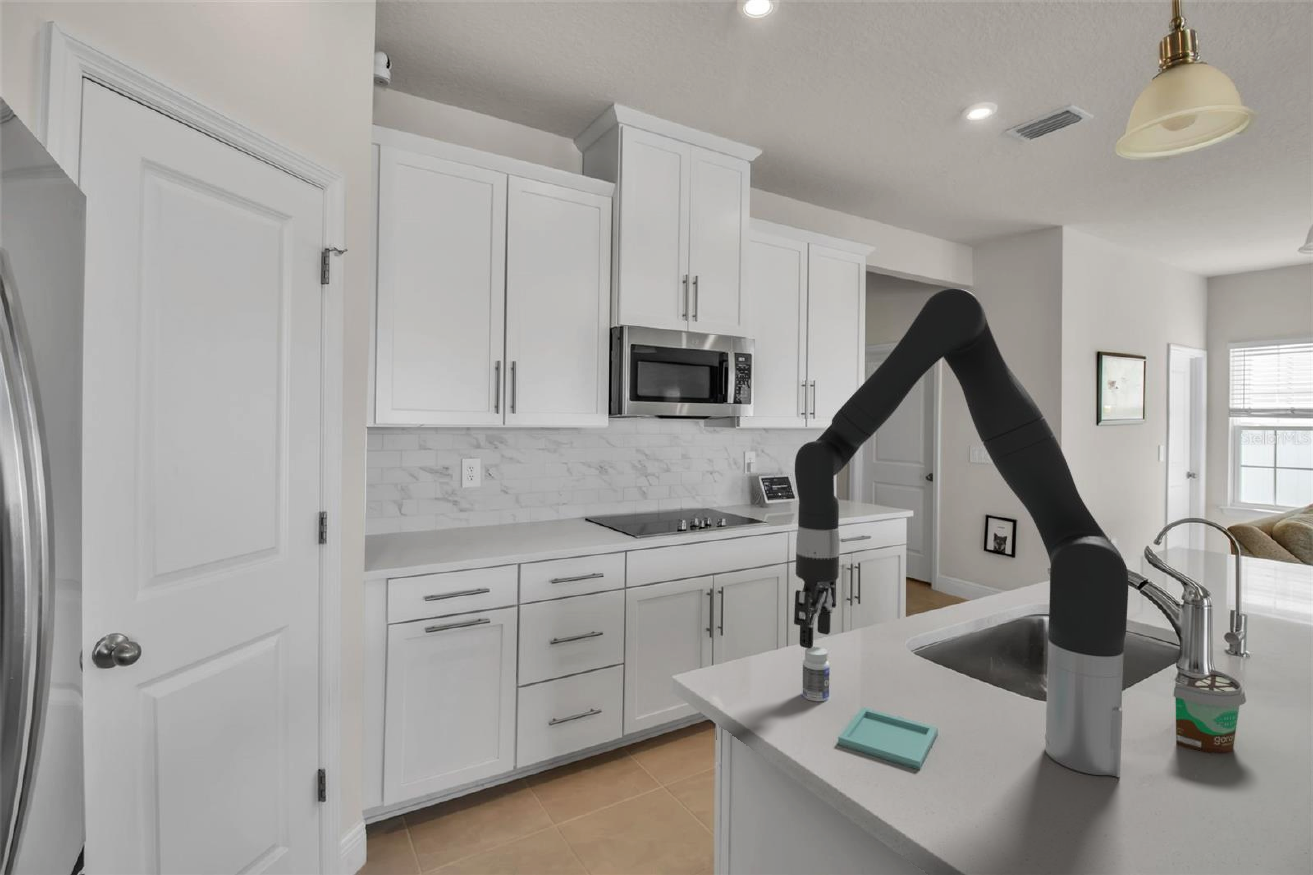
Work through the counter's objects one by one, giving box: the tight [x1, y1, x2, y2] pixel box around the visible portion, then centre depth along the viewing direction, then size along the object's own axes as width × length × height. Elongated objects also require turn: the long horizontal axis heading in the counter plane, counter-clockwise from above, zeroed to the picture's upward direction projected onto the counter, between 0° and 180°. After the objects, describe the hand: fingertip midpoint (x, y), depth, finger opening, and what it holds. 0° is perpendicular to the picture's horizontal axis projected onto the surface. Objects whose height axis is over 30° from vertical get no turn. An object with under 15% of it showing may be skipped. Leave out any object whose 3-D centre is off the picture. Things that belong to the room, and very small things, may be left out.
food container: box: [1172, 668, 1247, 755], centre depth 98 cm, size 12×6×10 cm, turn 118°
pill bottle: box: [802, 646, 830, 702], centre depth 115 cm, size 5×5×8 cm
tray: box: [837, 706, 939, 771], centre depth 100 cm, size 12×12×1 cm
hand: (815, 639), depth 115 cm, fingers open, 8 cm apart
